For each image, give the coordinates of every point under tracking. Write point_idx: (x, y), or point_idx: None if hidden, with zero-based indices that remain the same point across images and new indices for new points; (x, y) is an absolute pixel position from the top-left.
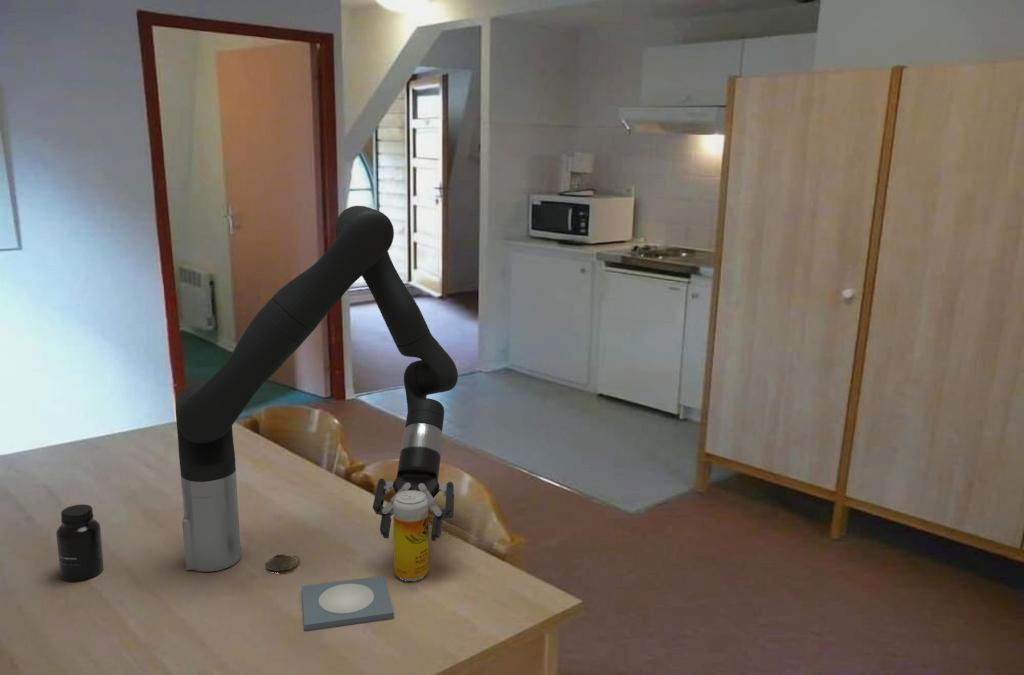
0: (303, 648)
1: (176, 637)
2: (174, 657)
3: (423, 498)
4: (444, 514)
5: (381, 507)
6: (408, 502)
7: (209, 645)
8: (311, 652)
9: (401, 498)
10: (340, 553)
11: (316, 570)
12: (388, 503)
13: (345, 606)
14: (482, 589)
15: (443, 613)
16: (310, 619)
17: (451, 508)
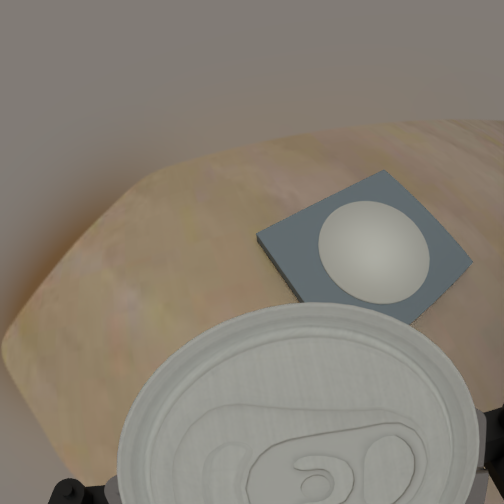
0: (353, 150)
1: (480, 150)
2: (452, 128)
3: (155, 500)
4: (101, 490)
5: (496, 433)
6: (283, 352)
7: (447, 142)
8: (338, 146)
9: (406, 419)
10: None
11: (493, 345)
12: (482, 457)
13: (359, 220)
14: (101, 386)
15: (163, 282)
16: (387, 181)
17: (55, 497)
